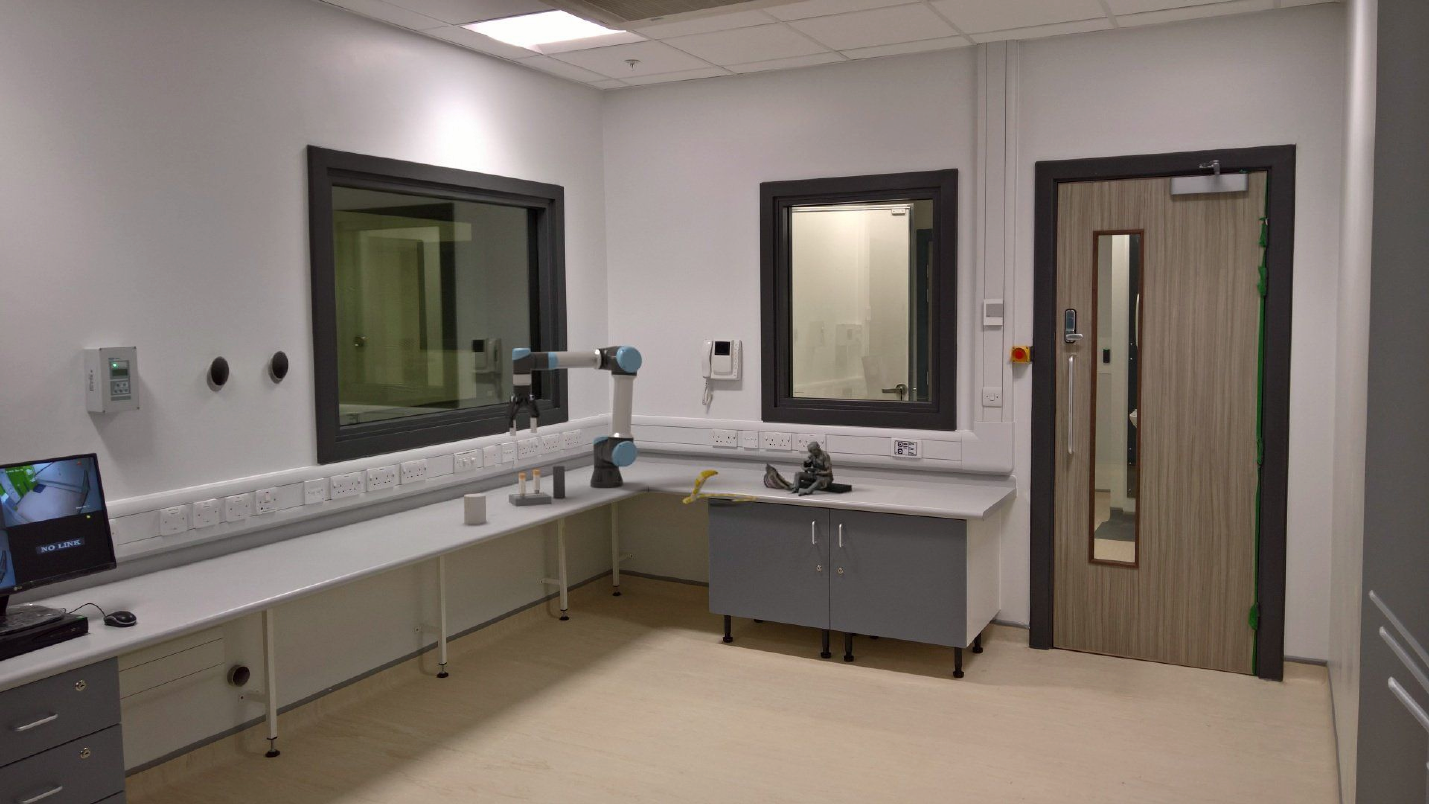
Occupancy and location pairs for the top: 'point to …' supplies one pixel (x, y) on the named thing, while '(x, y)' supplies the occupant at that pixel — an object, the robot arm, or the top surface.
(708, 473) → the toy
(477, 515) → the light grey upright cylinder
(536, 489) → the paddle
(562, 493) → the post
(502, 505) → the top surface
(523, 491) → the paddle
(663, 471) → the top surface
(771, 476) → the brown ridged tapered piece
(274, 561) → the top surface
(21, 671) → the top surface
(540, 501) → the grey tube rack
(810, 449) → the figurine
